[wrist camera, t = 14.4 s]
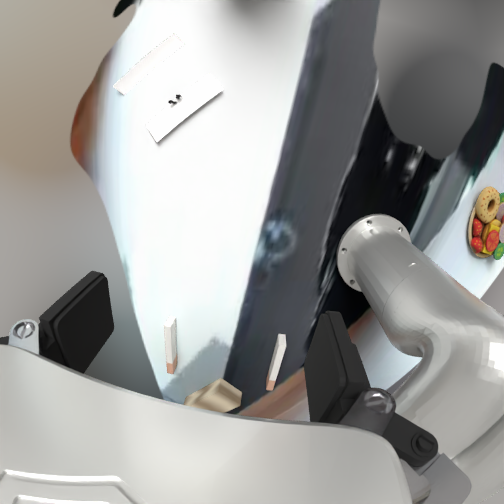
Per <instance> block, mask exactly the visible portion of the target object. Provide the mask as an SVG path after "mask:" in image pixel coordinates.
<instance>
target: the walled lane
mask: <svg viewBox="0 0 504 504" xmlns="http://www.w3.org/2000/svg"><path fill="white" fill-rule="evenodd" d="M164 336H165V351H166V363H167V373H170V374H174V371H175V368H176V366H177V348H176V317H173V316H169V317H168V319H167V321H166V323H165V325H164ZM285 348H286V336H285V335H284V334H278V338H277V342H276V346H275V350H274V353H273V357H272V361H271V365H270V368H269V372H268V375H267V381H266V390H272V391H273V387H274V384H275V381H276V378H277V375H278V371H279V368H280V365H281V362H282V358H283V355H284V352H285Z"/></svg>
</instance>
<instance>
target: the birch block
mask: <svg viewBox="0 0 504 504" xmlns="http://www.w3.org/2000/svg"><path fill="white" fill-rule="evenodd" d="M241 395H242V392H241V391H239V390H238V389H236V388H235V387H233V386H232V385H230V384H229V383H227V382H226V381H224V380H223V379H222V378H220V379H218V380H216V381H215V382H213V383H211V384H209V385H208V386H206V387H204V388H202V389H200V390H198V391H197V392H195V393H193V394H191V395H189V396H187V397H186V398H185V402H184V405H186V406H190V407H195V408H200V409H205V410H210V411H216V412H222V413H225V412H227V411H230V410H232V409H234V408H236V407H238V406H240V404H241Z"/></svg>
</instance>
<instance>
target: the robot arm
mask: <svg viewBox="0 0 504 504" xmlns="http://www.w3.org/2000/svg"><path fill="white" fill-rule="evenodd" d="M368 220H369V222H368V223H367V221H368ZM343 248H344V249H343ZM342 249H343V250H342ZM336 259H337V266H338V270H339V272H340V274H341V277H342V278H343V280H344V281H345V282H346V283H347V284H348V285H349V286H350V287H352V288H353V289H355V290H358V291H361V292H363V294H364V295H365V297H366V299H367V301H368V302H369V304H370V306H371V308H372V309H373V311H374V313H375V315H376V317H377V318H378V320H379V322H380V324H381V326H382V328H383V329H384V332H385V333H386V335H387V337H388V339H389V340H390V342H391V343H392V345H393V346H394V347H395V348H396V349H398V350H399V351H401V352H402V353H404V354H407V355H411V356H415V357H422V360H421V361H420V363H419V364H418V366H417V367H416V368H415V369H414V371H413V372H412V373H411V374H410V375H409V377H408V378H407V379H406V381H405V382H404V383H403V384H402V385H401V386H400V387H399V388H398V389H397V390H396V391H395V392H394V393H393V394H392V395H391V394H390V393H388V392H387V391H386V390H383V389H381V388H371V387H370V384H369V381H368V378H367V375H366V372H365V369H364V366H363V364H362V361H361V358H360V355H359V353H358V350H357V347H356V345H355V344H352V343H351V340H350V337H349V334H348V332H347V329H346V326H345V324H344V321H343V318H342V316H341V313H340V312H333V311H326V313H325V314H321V316H320V318H319V321H318V324H317V327H316V330H315V333H314V336H313V339H312V342H311V345H310V348H309V351H308V353H307V356H306V359H305V363H304V371H305V379H306V387H307V395H308V404H309V413H310V422H306V421H290V420H278V419H268V418H258V417H250V416H242V415H235V414H228V413H222V412H216V411H210V410H205V409H200V408H195V407H190V406H186V405H181V404H177V403H173V402H169V401H165V400H161V399H157V398H153V397H150V396H146V395H143V394H139V393H136V392H133V391H129V390H126V389H123V388H120V387H117V386H114V385H112V384H109V383H106V382H103V381H100V380H97V379H95V378H92V377H90V376H87V375H84V372H85V371H86V369H87V368H88V367H89V365H90V363H91V362H92V361H93V359H94V358H95V356H96V355H97V353H98V352H99V351H100V349H101V348H102V346H103V345H104V344H105V342H106V341H107V339H108V338H109V337H110V335H111V334H112V332H113V330H114V323H113V317H112V310H111V303H110V297H109V288H108V280H107V278H106V277H105V276H104V274H103V273H100V272H95V271H91V272H90V273H89V274H87V275H86V276H85V277H84V278H83V279H81V280H80V281H79V282H78V283H77V284H76V285H74V286H73V287H72V288H71V289H70V290H69V291H68V292H67V293H65V294H64V295H63V296H62V297H61V298H60V299H59V300H57V301H56V302H55V303H54V304H53V305H52V306H51V307H50V308H49V309H48V310H46V311H45V312H44V314H42V315H41V316H40V317H39V319H40V324H39V325H38V324H37V323H36V322H35V321H34V320H30V319H24V320H21V321H18V322H17V323H15V324H14V325H13V326H12V328H11V330H10V335H9V336H6V337H1V338H0V504H479V503H481V502H483V501H484V500H486V499H488V498H489V497H491V496H492V495H494V494H495V493H497V492H498V491H500V490H501V489H502V488H504V315H503V314H501V313H500V312H498V311H497V310H495V309H494V308H492V307H490V306H489V305H487V304H486V303H484V302H483V301H481V300H480V299H479V298H477V297H476V296H475V295H473V294H472V293H471V292H469V291H468V290H467V289H466V288H464V287H463V286H462V285H461V284H460V283H458V282H457V281H456V280H455V279H454V278H453V277H451V276H450V275H449V274H448V273H447V272H446V271H444V270H443V269H442V268H441V267H440V266H438V265H437V264H436V263H435V262H434V261H432V260H431V259H430V258H429V257H428V256H426V255H425V254H424V253H423V252H421V251H420V250H419V249H418V248H416V247H415V246H414V245H413V244H411V239H410V236H409V233H408V231H407V230H406V228H405V227H404V226H403V225H402V224H401V223H400V222H399V221H398V220H396V219H395V218H393V217H391V216H388V215H384V214H373V215H368V216H365V217H363V218H360V219H359V220H357V221H356V222H354V223H353V224H352V225H351V226H350V227H349V228H348V229H347V230H346V232H345V233H344V234H343V236H342V238H341V240H340V242H339V245H338V249H337V256H336ZM350 280H351V281H350Z"/></svg>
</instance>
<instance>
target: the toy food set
mask: <svg viewBox="0 0 504 504" xmlns="http://www.w3.org/2000/svg"><path fill="white" fill-rule="evenodd" d="M468 238H469V244H470V247H471V249H472V251H473V252H474V254H475V255H476V256H478V257H481V258H486V257H489V256H491V255H493V256H494V258H495V259H496V260H499V259H500V258H501V257H502V256H503V254H504V193H501V194H500V193H499V192H498V191H497V190H496V189H494V188H493V187H486V188H484V189H483V190H482V192H481V193H480V195H479V197H478V199H477V203H476V204H475V206H474V208H473V210H472V213H471V216H470V220H469V227H468Z"/></svg>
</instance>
